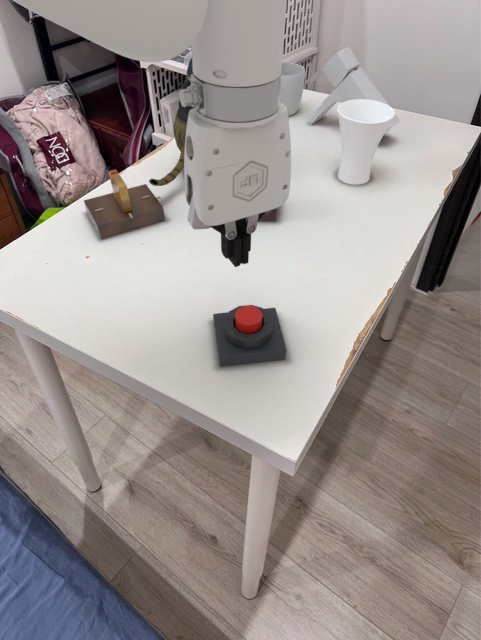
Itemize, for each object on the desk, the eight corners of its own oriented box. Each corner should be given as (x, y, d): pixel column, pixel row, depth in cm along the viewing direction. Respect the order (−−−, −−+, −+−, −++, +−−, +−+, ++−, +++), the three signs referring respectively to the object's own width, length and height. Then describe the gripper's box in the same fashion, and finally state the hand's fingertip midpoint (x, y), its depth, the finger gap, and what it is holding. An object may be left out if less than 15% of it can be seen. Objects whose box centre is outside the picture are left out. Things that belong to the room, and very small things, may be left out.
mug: (275, 101, 122) (277, 59, 114) (306, 108, 119) (311, 66, 111) (252, 120, 114) (253, 76, 107) (285, 127, 111) (288, 83, 104)
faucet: (388, 129, 100) (335, 48, 97) (338, 168, 113) (290, 98, 111) (401, 119, 103) (350, 41, 101) (351, 158, 117) (305, 90, 114)
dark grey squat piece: (219, 367, 62) (218, 348, 59) (213, 324, 68) (212, 304, 65) (285, 360, 63) (287, 340, 60) (274, 317, 68) (275, 298, 66)
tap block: (102, 242, 81) (98, 227, 79) (86, 212, 87) (82, 197, 85) (166, 223, 85) (164, 208, 83) (147, 196, 91) (144, 181, 89)
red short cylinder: (237, 335, 61) (237, 326, 60) (233, 315, 64) (233, 306, 62) (263, 332, 62) (264, 323, 60) (259, 313, 64) (259, 304, 63)
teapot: (254, 161, 100) (256, 40, 83) (181, 217, 86) (166, 85, 69) (208, 147, 105) (202, 29, 88) (132, 198, 91) (107, 69, 74)
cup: (389, 176, 96) (406, 110, 86) (359, 196, 91) (373, 128, 81) (347, 159, 101) (359, 94, 91) (317, 176, 96) (325, 110, 86)
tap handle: (132, 210, 82) (126, 184, 78) (124, 212, 82) (118, 186, 78) (121, 194, 86) (115, 168, 82) (114, 196, 85) (108, 170, 82)
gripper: (173, 127, 36) (189, 298, 49) (332, 94, 41) (307, 258, 54) (141, 93, 40) (163, 258, 54) (287, 67, 45) (274, 224, 59)
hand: (235, 258), depth 54 cm, fingers closed
